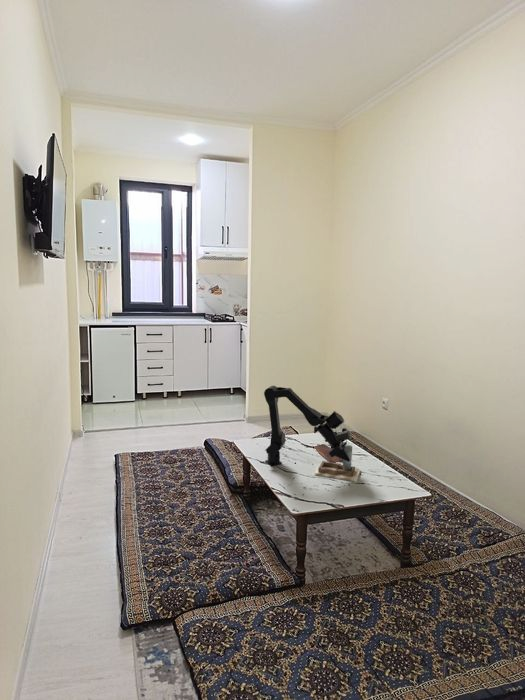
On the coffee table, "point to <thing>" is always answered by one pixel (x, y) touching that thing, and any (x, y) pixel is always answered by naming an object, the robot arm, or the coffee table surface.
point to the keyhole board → (337, 471)
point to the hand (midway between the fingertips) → (350, 459)
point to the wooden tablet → (327, 453)
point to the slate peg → (349, 453)
